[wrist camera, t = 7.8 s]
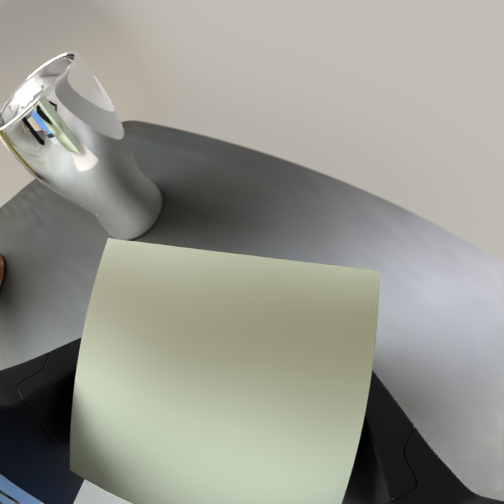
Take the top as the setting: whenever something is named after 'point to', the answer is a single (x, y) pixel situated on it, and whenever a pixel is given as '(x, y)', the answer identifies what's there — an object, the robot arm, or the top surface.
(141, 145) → the top surface
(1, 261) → the sauce bottle
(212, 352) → the sage block
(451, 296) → the top surface
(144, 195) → the beer glass
